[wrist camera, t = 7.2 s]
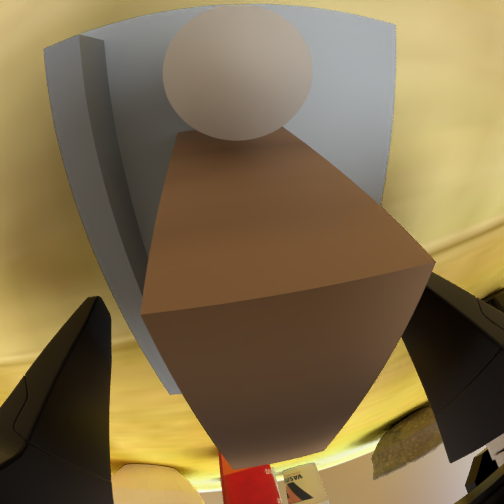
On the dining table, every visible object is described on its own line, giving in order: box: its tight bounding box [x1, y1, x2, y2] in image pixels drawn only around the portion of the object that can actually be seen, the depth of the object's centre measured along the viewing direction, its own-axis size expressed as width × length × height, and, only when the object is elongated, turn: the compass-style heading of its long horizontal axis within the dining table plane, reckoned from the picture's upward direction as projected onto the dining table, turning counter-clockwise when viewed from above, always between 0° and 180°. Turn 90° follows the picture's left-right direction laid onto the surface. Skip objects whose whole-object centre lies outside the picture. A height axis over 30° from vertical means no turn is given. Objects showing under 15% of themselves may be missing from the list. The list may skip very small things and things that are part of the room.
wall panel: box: [44, 4, 396, 395], centre depth 9 cm, size 16×11×5 cm
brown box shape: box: [140, 127, 436, 470], centre depth 8 cm, size 8×3×7 cm, turn 2°
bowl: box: [372, 407, 443, 480], centre depth 40 cm, size 21×21×10 cm
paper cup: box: [219, 451, 282, 504], centre depth 24 cm, size 8×8×14 cm
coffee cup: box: [283, 463, 330, 504], centre depth 47 cm, size 9×9×12 cm
